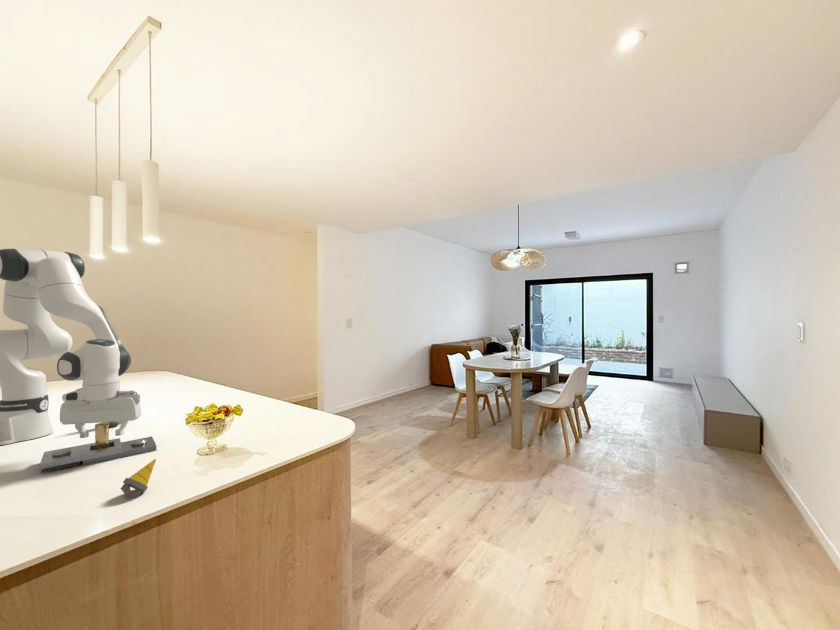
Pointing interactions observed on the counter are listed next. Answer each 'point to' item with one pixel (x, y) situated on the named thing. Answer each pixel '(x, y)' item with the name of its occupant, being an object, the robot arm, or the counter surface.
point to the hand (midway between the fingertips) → (102, 436)
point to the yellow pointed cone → (138, 481)
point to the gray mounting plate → (94, 453)
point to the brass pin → (101, 435)
